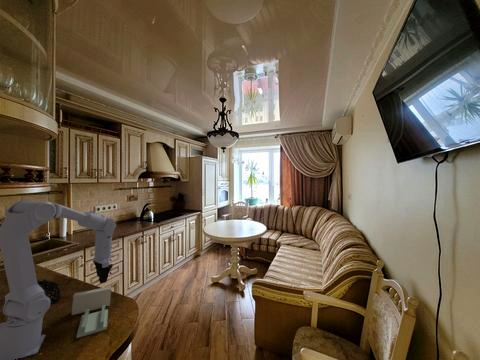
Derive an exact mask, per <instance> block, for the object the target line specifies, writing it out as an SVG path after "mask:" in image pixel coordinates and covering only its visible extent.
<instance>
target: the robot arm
mask: <svg viewBox="0 0 480 360" xmlns="http://www.w3.org/2000/svg"><path fill="white" fill-rule="evenodd" d="M57 218H63V219H67V220H71V221H75V222H77V225H78V226H80V227H83V228H87V229H90V230H93V232H95V238H94V239H95V241H94V256H93V260H92V262H93V264H94V266H95V267H94V268H95V271H96V276H97V277H98V280H99V283H100V284H101V285H102V284H105V283H107V281H108V278H109V274H110V272H111V269H113V267H114V265H113V263H111V264H109V263H110V261H111V259H113V258H114V257H115V254H113V253H112V245H113V243H112V242H113V235H114V232H115V231H114V230H115V229H116V227H117V223H116V222H115V220H114V219H113V218H109V217H105V215H103V214H101V215H99V214H96V211H92V210H89V211H84V212H81V211H78V210H76V209H72V208H71V207H67V206H66V205H63V204H60V203H56V202H50V201H48V200H47V201H45V200H44V201H43V200H42V201H39V200H30V199H29V200H28V199H22V200H18V201H16V202H15V203H13V204H12V205H11V206H10V207H8V208H7V209H6V210H5V217H4V220H3V222H2V224H1V226H0V251H1V257H2V260H3V266H4V271H5V275H6V279H7V284H8V288H9V292H8V293H7V294H6V295H5V296H4V299H5V300H4V301H5V302H4V305H3V308H2V313H3V315H4V316H7V320H6V321H5V322H2V323H0V360H15V359H16V360H19V359H18V358H20V359H23V358H27V357H28V356H33V355H36V354H38V352H39V350H40V349H41V345H42V344H43V342H44V340H45V337H46V334H42V328H43V319H44V317H45V314H46V313H47V312H48V311H49V309H50V307H51V304H50V303H51V301H50V299H49V297H47V296H46V295H45V292H44V290H43V289H42V288H41V287H40V286H39V285H38V283H37V280H38V279H37V275H36V274H37V273H36V269H35V263H34V259H33V258H34V257H33V253H32V247H31V244H30V238H29V236H30V234H31V233H32V232H33V231H35V230H36V229H38V228H39V227H41V226H42V225H44V224H46V223H48V222H49V221H50V220H52V219H57Z"/></svg>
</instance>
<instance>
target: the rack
mask: <svg viewBox="0 0 480 360" xmlns="http://www.w3.org/2000/svg"><path fill="white" fill-rule="evenodd" d="M108 317H109V309H108V308H107V309H106V307H105V305H102V308H101V310H100V311H96V312H92V313H90V311H89V309H86V311H85V312H84V314H82V315H81V318H80V321H79V325H78V329H77V333H76V339H78V338H82V337H85V336H89V335H92V334H96V333H100V332H102V331H103V332H104V331H106V330H108V329H107V328H108Z"/></svg>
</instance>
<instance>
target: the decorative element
mask: <svg viewBox="0 0 480 360" xmlns="http://www.w3.org/2000/svg"><path fill="white" fill-rule="evenodd" d="M37 283H38V285H39V286H40V287H41V288H42V289H43V290H44V292H45V295H46V296H47V297H49V299H50V301H51V303H50V305H54V304H56V303H57V302H60V300H61V298H62V297H61V295H62V294H61V289H60V288H61V287H59V283H57V282H55V281H54V280H52V281H49V280H46V278H42V280H40V279H37Z"/></svg>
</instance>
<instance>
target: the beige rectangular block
mask: <svg viewBox="0 0 480 360" xmlns="http://www.w3.org/2000/svg"><path fill="white" fill-rule="evenodd" d="M72 296H73V299H72V307H71V308H72V310H71V316H73V315H77V314H82V313H85V311H86V309H89V312H90V311H91V312H92V311H95V310H99V309H102V305H105V308H107V307H106V306H108V307H110V306H111V305H110V304H111V296H112V286H111V285H110V286H107V287H106V286H104V287H101V288H95V289H92V290H85V291H79V292H75V293H73V295H72Z"/></svg>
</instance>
